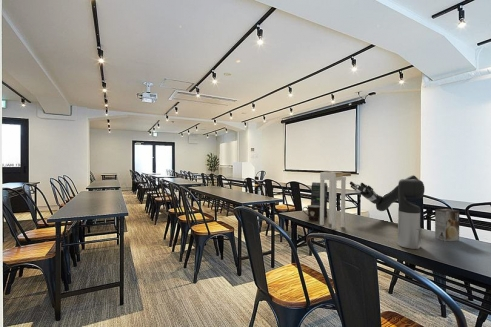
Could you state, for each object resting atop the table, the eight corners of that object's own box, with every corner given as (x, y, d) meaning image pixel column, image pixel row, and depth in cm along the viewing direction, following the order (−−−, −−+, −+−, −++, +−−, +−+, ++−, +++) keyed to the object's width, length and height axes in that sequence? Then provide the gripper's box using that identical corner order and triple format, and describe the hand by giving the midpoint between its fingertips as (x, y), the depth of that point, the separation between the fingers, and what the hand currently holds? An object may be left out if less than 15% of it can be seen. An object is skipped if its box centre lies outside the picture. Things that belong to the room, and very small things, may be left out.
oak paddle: (355, 176, 166) (355, 171, 166) (334, 177, 157) (334, 172, 157) (343, 175, 174) (343, 171, 174) (323, 176, 165) (323, 171, 165)
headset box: (327, 217, 187) (327, 182, 186) (310, 216, 190) (311, 182, 190) (326, 211, 208) (326, 180, 208) (311, 210, 212) (311, 180, 211)
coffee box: (447, 237, 142) (448, 208, 142) (459, 240, 136) (460, 210, 136) (434, 238, 140) (434, 209, 140) (445, 241, 134) (446, 211, 134)
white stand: (345, 227, 160) (345, 173, 160) (333, 229, 156) (334, 173, 155) (330, 223, 171) (331, 172, 170) (319, 224, 166) (320, 172, 166)
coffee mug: (322, 220, 178) (322, 206, 178) (314, 222, 173) (314, 207, 173) (309, 217, 187) (309, 204, 187) (301, 218, 183) (301, 205, 182)
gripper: (376, 199, 173) (362, 189, 166) (358, 197, 185) (345, 186, 179) (380, 190, 175) (366, 179, 168) (361, 188, 187) (348, 177, 180)
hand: (355, 183), depth 173 cm, fingers open, 8 cm apart
